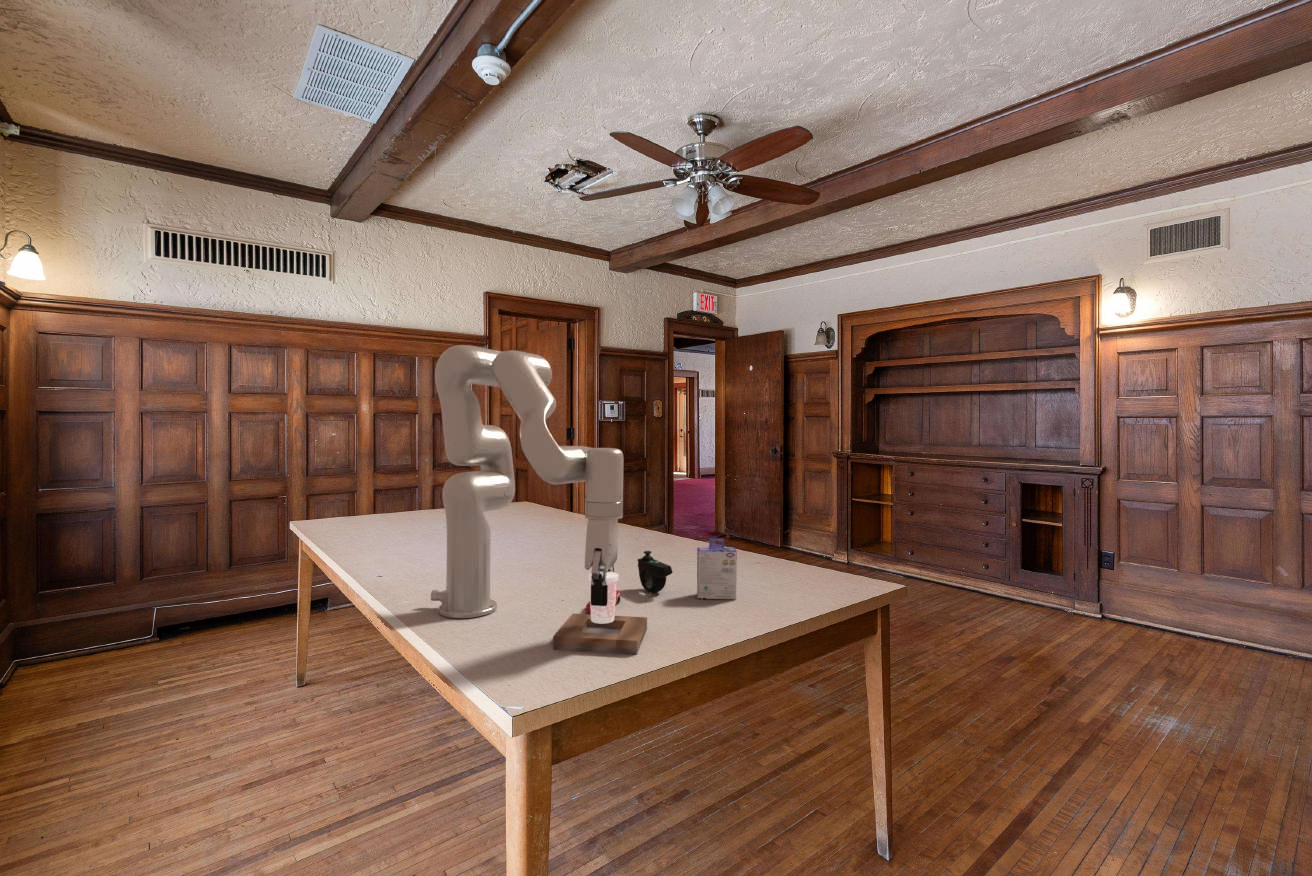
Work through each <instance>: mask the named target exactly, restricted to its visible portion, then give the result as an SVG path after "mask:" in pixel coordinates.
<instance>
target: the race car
mask: <svg viewBox="0 0 1312 876" xmlns="http://www.w3.org/2000/svg"><path fill="white" fill-rule="evenodd" d="M620 602H621V592H620V590H618V589H616V602H615V607H617V605H619V604H620ZM585 610H586V611H585V612H586V613H587V614H591V609H590V600H589V601H588V602H587V603H586V605H585Z"/></svg>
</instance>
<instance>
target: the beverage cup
mask: <svg viewBox="0 0 1312 876" xmlns="http://www.w3.org/2000/svg"><path fill="white" fill-rule="evenodd" d="M604 567H605V566H602V569H604ZM600 574H602V577H603V573H602V572H600ZM591 576H592V572H590V573H588V574H587V580H588V584H589V601H590V609H591V613H590V614H591V621H592V622H594V623H599V624H605V623H611V622H613V621H614V616H616V615H615V612H616V606H615V602H616V590H618V589H617V586H618V580H619V573H617V572H615V571H614V572H607V579H606V585H608V600H607V605H606V606H592V605H591Z"/></svg>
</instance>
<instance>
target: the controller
mask: <svg viewBox="0 0 1312 876" xmlns="http://www.w3.org/2000/svg"><path fill="white" fill-rule="evenodd" d="M643 554H644V555H643V556H642V557H641V558H637V569H638V574H639V575H638V576H639V581H640V584H641V586H642V587H643V589H644V590H645V591H646V592H648V593H650V592H652V593H651V594H653V593H654V594H655V593H658V592H661V591H662V590H663V589H664V588H665V586H666V583H667V576H671V575H672V574H673V568H672V566H671V565H669V564H666V563H663V562H661V561H659V560H657V559H656V558H655V559H654V557H653V556H651V554H652V551H651V550H645V551H643Z"/></svg>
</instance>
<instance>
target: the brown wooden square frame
mask: <svg viewBox="0 0 1312 876" xmlns="http://www.w3.org/2000/svg"><path fill="white" fill-rule="evenodd" d="M647 630H648V617H646V616H630V615H629V616H626V615H615V616H614V621H613V622H611V623H605V624H599V623H594V622H592V621H591V613H575V612H574V613H571V615H570V616H569V617H568V618H567V619H566V621H565V622H564V623H563V624H562V625H561V626H560V628H559V629H558V630H557V631H556V632H555V633H554V635H553V639H552V649H553V650H557V651H558V650H559V651H573V652H574V651H575V652H589V653H593V652H594V653H608V654H623V655H624V654H625V655H638V652H639V650H640V647H641V646H642V643H643V641H644V637H645V635H646V633H647Z"/></svg>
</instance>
